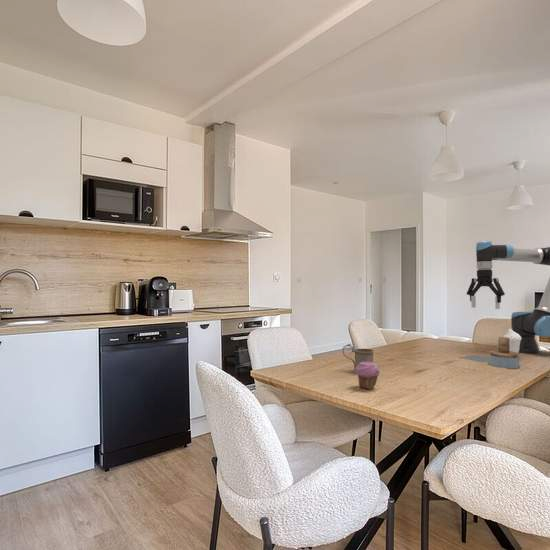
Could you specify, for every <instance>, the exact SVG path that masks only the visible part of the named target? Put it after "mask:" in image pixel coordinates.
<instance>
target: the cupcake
mask: <svg viewBox="0 0 550 550" xmlns="http://www.w3.org/2000/svg"><path fill="white" fill-rule="evenodd" d="M355 372H356V373H355V374H356V375H357V376H358V377H357V378H358V386H359V387H360V388H362V389H365V390H369V391H370V390H372V389H373V388H375V386H376V384H377V381H378V376H380V369H379V367H378V365H377V364H376V363H375V362H373V363H372V362H361V363H359V365H357V367H356V369H355Z"/></svg>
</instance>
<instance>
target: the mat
mask: <svg viewBox="0 0 550 550" xmlns="http://www.w3.org/2000/svg"><path fill="white" fill-rule="evenodd" d="M458 358H459V359H465V360H469V361H473V362H479V363H487V362H488V363H489V357H488V356H487V357H486V356H481V355H475V354H473V355H467V356H458Z"/></svg>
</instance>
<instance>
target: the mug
mask: <svg viewBox="0 0 550 550" xmlns="http://www.w3.org/2000/svg"><path fill="white" fill-rule="evenodd" d="M347 347H351V349H352V350H351V353H354V359H352V358H351V357H349V356H347V355H346V354H345V351H344V349H345V348H347ZM374 352H375V351H374V349H371V348H355V349H354V347H353V345H352V344H351V343H347V344H346V345H345V346H343V347H342V354H343V356H344V357H345V358H347V359H349V360H351V362H352V363H353V367H354V369H353V370H352V372H353V374H354V373H355V374H356V372H355V369H356V367H357V365H359V363H361V362H372V363H374Z"/></svg>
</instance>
